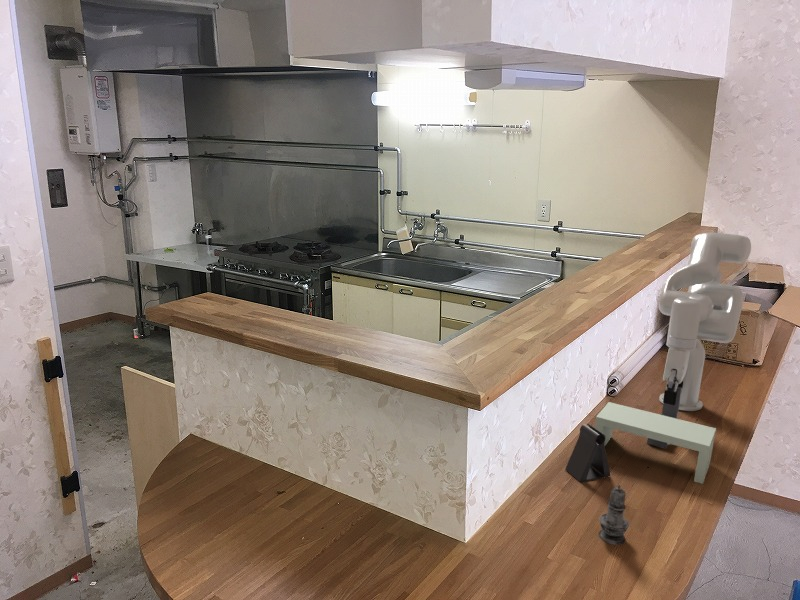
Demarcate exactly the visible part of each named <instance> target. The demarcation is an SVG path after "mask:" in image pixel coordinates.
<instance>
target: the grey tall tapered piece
mask: <svg viewBox="0 0 800 600" xmlns="http://www.w3.org/2000/svg"><path fill="white" fill-rule="evenodd" d="M609 495H610V496H609V501H607V503H606V504H607V513H603V514H601V515H600V516H599V518H598V519H599V523H600V527H601V530H600V531H599V532H598V537H599V538H600V539H601V540H602V541H603V542H605V543H607V544H610V545H615V546H617V545H619V546H620V545H622V544H625V542H626V537H625V535H624V534H626V532H627V530H628V529H629V527H630V523H629V521H628V520H627V519H626V518H625V517H624V511H625V510H626V505H625V500H626V496H627V495H626V491H625V490H624V488H623V489H622V488H621V485H620V484H618V485H617V487H613V488H611V490H610V494H609Z"/></svg>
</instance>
